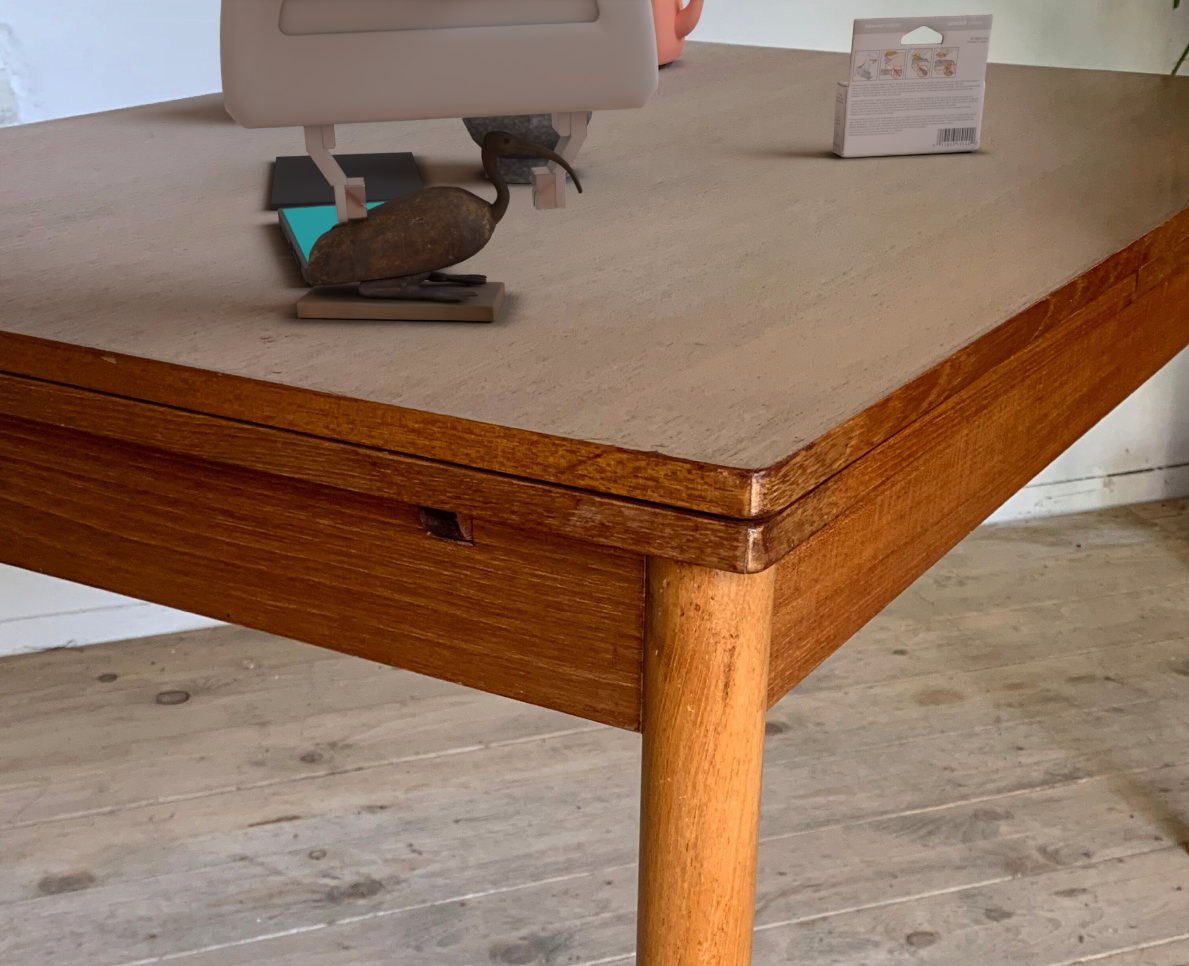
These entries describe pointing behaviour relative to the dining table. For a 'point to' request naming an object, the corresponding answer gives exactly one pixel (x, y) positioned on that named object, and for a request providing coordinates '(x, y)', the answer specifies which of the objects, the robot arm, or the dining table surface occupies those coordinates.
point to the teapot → (673, 26)
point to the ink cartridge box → (913, 88)
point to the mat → (381, 173)
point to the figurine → (416, 251)
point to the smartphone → (309, 229)
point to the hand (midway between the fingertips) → (452, 213)
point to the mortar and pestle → (520, 126)
